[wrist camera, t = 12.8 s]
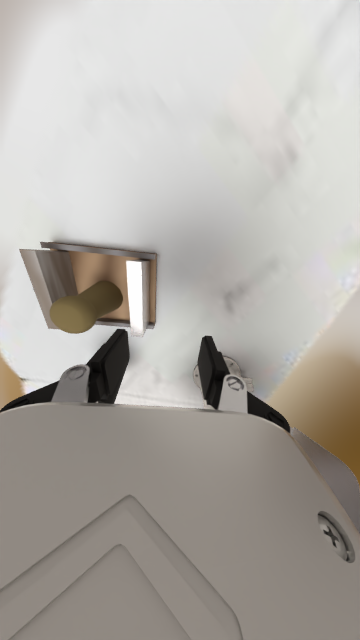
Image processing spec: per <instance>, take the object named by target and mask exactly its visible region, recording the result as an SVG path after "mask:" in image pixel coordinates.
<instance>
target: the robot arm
mask: <svg viewBox="0 0 360 640" xmlns="http://www.w3.org/2000/svg"><path fill="white" fill-rule="evenodd" d="M128 360H129V345H128V333H127V331H125V329H117V330H116V331H115V332H114V334H113V335H112V336H111V337H110V338H109V340H108V341H107V342H106V343H104V344H103V345H102V346H101V348H100V349H99V350H98V351H97V352H96V353H95V355H94V356H93V357H92V358H91V359H90V360H89V362H88V363H87V364H86V365H76V366H73V367H71V368H69V369H67V370H66V371H65V372H64V373H63V374H62V376H61V378H60V380H59V381H57V382H55V383H52V384H50V385H48V386H45V387H43V388H40V389H38V390H36V391H33V392H31V393H29V394H26V395H24V396H22V397H19V398H17V399H15V400H13V401H11V402H10V403H8V404H7V405H6V406H4V408H2V409H1V410H0V640H360V490H359V484H358V482H357V479H356V477H355V476H354V474H353V473H352V471H351V470H350V469H349V468H348V467H347V466H346V465H345V464H344V463H343V462H342V461H341V460H340V459H338V458H337V457H336V456H334V455H333V454H331V453H330V452H328V451H327V450H326V449H324V448H323V447H322V446H320V445H319V444H317V443H316V442H314V441H313V440H312V439H310V438H309V437H307V436H306V435H305V434H303V433H302V432H300V431H299V430H298V429H296V428H295V427H294V428H291V427H290V426H289V424H288V422H287V420H286V419H285V418H284V417H283V416H282V415H281V414H280V413H279V412H277V411H276V410H274V409H273V408H272V407H270V406H269V405H267V404H266V403H264V402H263V401H261V400H260V399H258V398H257V397H255V396H254V395H252V394H251V393H249V392H253V391H254V387H253V385H252V384H251V383H252V380H251V378H242V377H241V376H240V369H239V367H238V365H237V363H236V362H235V361H233V360H232V359H230V358H228V357H223V356H222V353H221V352H219V351H217V348H216V346H215V343H214V341H213V338H212V336H205V337H203V338H202V342H201V347H200V352H199V357H198V365H197V366H196V368H195V369H194V372H193V378H194V382H195V384H196V385H197V386H198V387H199V388H200V389H201V392H202V398H203V404H204V409H196V408H180V407H162V406H144V405H125V404H104V403H98V401H99V400H101V399H107V398H108V396H109V394H110V395H111V394H112V393H113V391H114V389H115V387H116V385H117V383H118V381H119V379H120V376H121V374H122V372H123V370H124V368H125V366H126V364H127V362H128ZM248 383H249V384H248ZM248 391H249V392H248Z"/></svg>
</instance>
